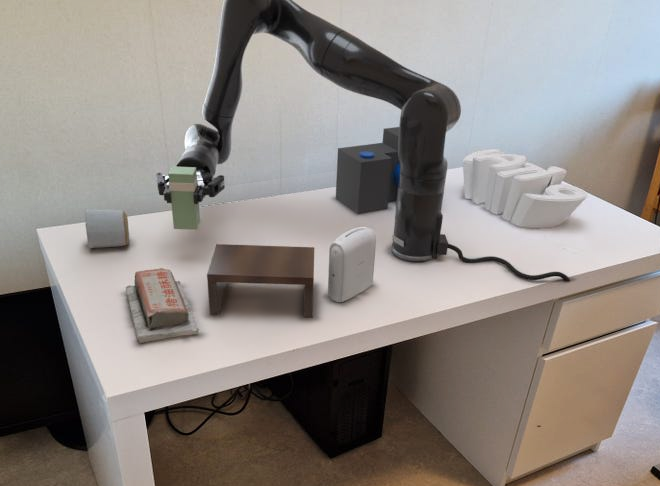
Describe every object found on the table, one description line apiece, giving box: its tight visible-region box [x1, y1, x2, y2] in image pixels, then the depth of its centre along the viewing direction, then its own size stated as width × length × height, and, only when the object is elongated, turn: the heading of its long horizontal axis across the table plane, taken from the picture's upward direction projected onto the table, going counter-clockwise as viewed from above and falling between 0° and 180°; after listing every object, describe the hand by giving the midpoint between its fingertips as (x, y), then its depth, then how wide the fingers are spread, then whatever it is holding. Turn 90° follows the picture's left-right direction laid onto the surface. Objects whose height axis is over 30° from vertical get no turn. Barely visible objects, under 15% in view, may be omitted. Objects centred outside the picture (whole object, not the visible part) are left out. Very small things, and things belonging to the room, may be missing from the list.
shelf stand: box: [206, 243, 315, 319], centre depth 119 cm, size 18×12×8 cm, turn 91°
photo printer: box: [327, 226, 377, 303], centre depth 122 cm, size 10×4×12 cm, turn 140°
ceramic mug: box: [84, 209, 130, 249], centre depth 136 cm, size 11×8×8 cm
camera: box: [335, 126, 400, 215], centre depth 159 cm, size 25×16×16 cm, turn 119°
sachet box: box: [167, 166, 201, 231], centre depth 127 cm, size 5×4×11 cm
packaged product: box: [125, 267, 199, 344], centre depth 115 cm, size 18×5×10 cm
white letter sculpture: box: [462, 148, 588, 229], centre depth 162 cm, size 35×16×11 cm, turn 27°
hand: (182, 198), depth 124 cm, fingers closed on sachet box, 4 cm apart
